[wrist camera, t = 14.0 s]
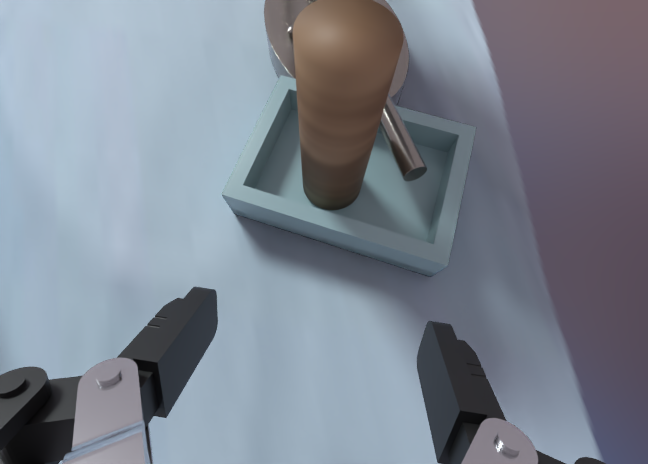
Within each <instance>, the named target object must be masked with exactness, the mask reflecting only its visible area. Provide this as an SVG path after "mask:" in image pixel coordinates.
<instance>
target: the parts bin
mask: <svg viewBox="0 0 648 464" xmlns="http://www.w3.org/2000/svg"><path fill="white" fill-rule="evenodd" d="M396 108H397V110H398V112H399V114H400V116H401V118H402V120H403V122H404V124H405V126H406V128H407V130H408V132H409V133H410V135H411V137H412V139H413V141H414V143H415V145H416V147H417V149H418V151H419V153H420V155H421V157H422V159H423V161H424V163H425V165H426V167H427V171H426V173H425V174H424V175H423V176H421V177H420V178H418V179H416V180H413V181H408V182H407V181H404V180H403V177H402V175H401V173H400V171H399V169H398V167H397V165H396V163H395V160H394V158H393V156H392V154H391V152H390V150H389V148H388V146H387V143H386V141H385V139H384V137H383V135H382V133H381V131H380V129H379V128H378V131H377V135H376V138H375V141H374V145H373V148H372V152H371V155H370V159H369V162H368V165H367V169H366V172H365V176H364V179H363V183H362V186H361V189H360V193H359V195H358V197H357V199H356V200H355V201H354V202H353V203H352V204H351V205H349V206H347V207H345V208H343V209H339V210H326V209H322V208H320V207H318V206H316V205H314V204H313V203H312V202H311V201H310V200H309V199H308V198H307V196H306V195H305V192H304V189H303V180H302V165H301V150H300V135H299V120H298V105H297V90H296V79H294V78H290V77H286V76H283V75H280V77H279V79H278V81H277V83H276V85H275V87H274V89H273V91H272V93H271V95H270V97H269V99H268V101H267V103H266V105H265V107H264V109H263V111H262V113H261V115H260V117H259V119H258V121H257V123H256V125H255V127H254V129H253V131H252V133H251V135H250V137H249V139H248V141H247V143H246V145H245V147H244V149H243V151H242V153H241V155H240V157H239V159H238V161H237V163H236V165H235V167H234V169H233V171H232V173H231V175H230V177H229V179H228V181H227V183H226V185H225V187H224V189H223V191H222V193H221V195H222V196H223V198H224V199H225V201H226V202H227V204H228V205H229V207H230V208H231V210H232V211H233V213H234V214H237V215H240V216H243V217H246V218H249V219H252V220H255V221H259V222H262V223H265V224H268V225H271V226H274V227H277V228H280V229H283V230H287V231H290V232H293V233H296V234H299V235H302V236H305V237H308V238H311V239H314V240H318V241H321V242H324V243H327V244H330V245H333V246H336V247H339V248H342V249H345V250H349V251H352V252H355V253H358V254H361V255H364V256H367V257H370V258H373V259H377V260H380V261H383V262H386V263H389V264H392V265H395V266H398V267H401V268H404V269H408V270H411V271H414V272H417V273H420V274H423V275H426V276H429V277H431V276H433V275H434V274H436V273H438V272H439V271H441V270H442V269H444V268H445V267H447V266H448V263H449V258H450V253H451V249H452V244H453V239H454V234H455V229H456V224H457V220H458V215H459V210H460V205H461V200H462V195H463V191H464V186H465V181H466V176H467V171H468V166H469V161H470V157H471V152H472V147H473V142H474V137H475V132H476V128H477V127H474V126H470V125H467V124H463V123H459V122H455V121H452V120H448V119H444V118H440V117H437V116H433V115H429V114H425V113H422V112H418V111H414V110H410V109H407V108H403V107H399V106H396Z"/></svg>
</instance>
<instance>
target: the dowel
mask: <svg viewBox="0 0 648 464" xmlns="http://www.w3.org/2000/svg"><path fill="white" fill-rule="evenodd" d="M403 40H404V35H403V29H402V26H401V24H400V22H399V21H398V19H397V18H396V16H395V15H394V14H393V13H392V12H391V11H390V10H388V9H387V8H386V7H384V6H383V5H381V4H379V3H377V2H375V1H373V0H317V1H315V2H313V3H311V4H310V5H308V6H307V7H305V8H304V9H303V10H302V11H301V12H300V13H299V15H298V16H297V18H296V20H295V22H294V26H293V46H294V60H295V75H296V90H297V105H298V120H299V135H300V150H301V165H302V180H303V189H304V192H305V195H306V196H307V198H308V199H309V200H310V201H311V202H312V203H313V204H314V205H316V206H318V207H320V208H322V209H326V210H339V209H343V208H345V207H347V206H349V205H351V204H352V203H353V202H354V201H355V200H356V199H357V197H358V195H359V193H360V189H361V186H362V183H363V179H364V176H365V172H366V169H367V165H368V162H369V159H370V155H371V152H372V148H373V145H374V141H375V138H376V135H377V131H378V128H379V124H380V121H381V117H382V114H383V111H384V107H385V104H386V100H387V97H388V94H389V90H390V87H391V83H392V80H393V76H394V73H395V70H396V66H397V63H398V59H399V56H400V52H401V49H402V45H403Z"/></svg>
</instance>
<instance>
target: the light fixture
mask: <svg viewBox="0 0 648 464" xmlns="http://www.w3.org/2000/svg"><path fill="white" fill-rule="evenodd" d="M315 1H317V0H266V1H265V7H264V18H265V27H266V33H267V40H268V46H269V52H270V57H271V61H272V64H273V67H274V69H275V71H276V74H277V75H278V77H280V75H283V76H286V77H290V78H294V79H296V75H295V60H294V46H293V26H294V22H295V20H296V18H297V16H298V15H299V13H300V12H301V11H302V10H303V9H304V8H305V7H307V6H308V5H310V4H311V3H313V2H315ZM373 1H375V2H377V3H379V4H381V5H383V6H384V7H386V8H387V9H388V10H390V11H391V12H392V13H393V14H394V15H395V16H396V14H395V13H394V11H393V10H392V8H391V7H390V6H389V4H388V3H387V2H386V1H385V0H373ZM396 18H397V16H396ZM397 19H398V18H397ZM398 21H399V20H398ZM403 35H404V40H403V45H402V49H401V52H400V56H399V59H398V63H397V66H396V70H395V73H394V76H393V80H392V83H391V87H390V90H389V94H388V97H387V100H386V104H385V107H384V111H383V114H382V117H381V121H380V124H379V129H380V131H381V133H382V135H383V137H384V139H385V141H386V143H387V146H388V148H389V150H390V152H391V154H392V156H393V158H394V160H395V163H396V165H397V167H398V169H399V171H400V173H401V175H402V177H403V180H404V181H407V182H408V181H413V180H416V179H418V178H420V177H421V176H423V175H424V174H425V173H426V171H427V167H426V165H425V163H424V161H423V159H422V157H421V155H420V153H419V151H418V149H417V147H416V145H415V143H414V141H413V139H412V137H411V135H410V133H409V132H408V130H407V128H406V126H405V124H404V122H403V120H402V118H401V116H400V114H399V112H398V110H397V108H396V106H397V103H398V101H399V98H400V95H401V92H402V89H403V85H404V82H405V79H406V75H407V71H408V64H409V50H408V45H407V40H406V37H405V34H404V31H403Z"/></svg>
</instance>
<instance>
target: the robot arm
mask: <svg viewBox="0 0 648 464" xmlns="http://www.w3.org/2000/svg"><path fill="white" fill-rule="evenodd" d="M217 324H218V317H217V295H216V291H215V290H214V289H207V288H201V287H193V288H192V289H191V291H190V292H189V293H188V294H187V295H186V296H185V298H184V299H181V298H177V299H175V300H173V301H172V302H170V303H168V304H166V305H165V306H164V307H163V308H162V309H161V310H160V311H159V312H158V313H157V314H156V315H155V318H153V319H152V320H151V321H150V322H149V323H148V325H147V326H145V327H144V329H143V330H142V331H141V332H140V333H139V334H138V335H137V336H136V337H135V338H134V339H133V341H132V342H131V343H130V344H129V345H128V346H127V347H126V348H125V349H124V350H123V351H122V353H121V354H120V355H119V356H118V357H117V358H113V359H109V360H106V361H103V362H101V363H99V364H97V365H95V366H94V367H92V368H91V369H89V370H88V371H87V372H86V373H85V374H84V375H83V376H78V377H69V378H60V379H52V380H49V379H48V377H47V374H46V372H45V371H44V370H43V369H41V368H39V367H24V368H19V369H15V370H12V371H9V372H7V373H5V374H2V375H0V464H58V463H59V462H60V461H61V460H63V464H153V456H152V447H151V438H150V429H149V422H150V421H151V419H152V417H153V416H158V417H164V418H166V417H167V416H168V414H169V412H170V411H171V409H172V407H173V406H174V404H175V402H176V401H177V399H178V397H179V395H180V394H181V392H182V390H183V389H184V387H185V385H186V384H187V382H188V380H189V379H190V377H191V375H192V373H193V372H194V370H195V368H196V367H197V365H198V363H199V362H200V360H201V358H202V357H203V355H204V353H205V352H206V350H207V348H208V346H209V345H210V343H211V341H212V340H213V338H214V336H215V333H216V330H217ZM417 369H418V374H419V379H420V384H421V388H422V393H423V397H424V402H425V407H426V411H427V416H428V421H429V425H430V430H431V435H432V439H433V444H434V448H435V453H436V458H437V462H438V463H440V464H565V463H563V462H561V461H559V460H556V459H554V458H552V457H550V456H548V455H545V454H543V453H541V452H539V451H537V450H535V447H534V446H533V444H532V442H531V441H530V440H529V438H528V437H527V436H526V435H525V434H524V433H523V432H522V431H521V430H520V429H518V428H517V427H516V426H514V425H513V424H511V423H509V422H507V421H506V419H505V417H504V415H503V412H502V410H501V408H500V406H499V404H498V401H497V399H496V397H495V395H494V393H493V390H492V388H491V386H490V384H489V382H488V379H486V375H485V373H484V371H483V368H481V364H480V362H479V359H478V357H477V355H476V353H475V352H474V351H473V350H472V348H471V347H470V346H469V345H468V344H467V343H466V342H465V341H462V340H457V338H456V335H455V333H454V331H453V328H452V326H451V325H450V324H445V323H439V322H432V321H429V322H428V323H427V325H426V328H425V331H424V334H423V338H422V341H421V344H420V347H419V351H418V355H417ZM574 464H605V463H603V462H601V461H599V460H597V459H593V458H588V457H582V458H579V459H578V460H577V461H576V462H575V463H574Z"/></svg>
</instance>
